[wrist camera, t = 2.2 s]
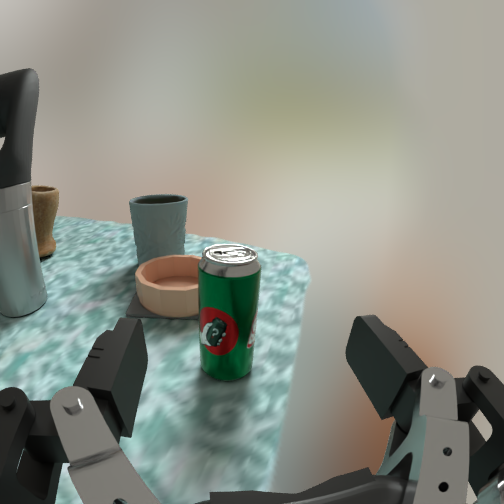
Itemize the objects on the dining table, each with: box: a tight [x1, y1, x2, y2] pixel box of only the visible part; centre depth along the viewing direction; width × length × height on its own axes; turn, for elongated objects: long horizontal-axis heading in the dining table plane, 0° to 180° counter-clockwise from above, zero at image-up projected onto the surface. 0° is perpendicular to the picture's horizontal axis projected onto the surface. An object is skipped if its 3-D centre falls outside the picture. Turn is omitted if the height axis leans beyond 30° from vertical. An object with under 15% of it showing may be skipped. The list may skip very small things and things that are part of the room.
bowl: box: [135, 255, 202, 317], centre depth 37 cm, size 12×12×4 cm
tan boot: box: [31, 186, 59, 258], centre depth 46 cm, size 15×12×15 cm
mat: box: [126, 292, 199, 319], centre depth 38 cm, size 13×11×1 cm
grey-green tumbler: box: [129, 194, 188, 266], centre depth 46 cm, size 10×10×12 cm
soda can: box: [198, 244, 261, 381], centre depth 24 cm, size 5×5×12 cm
